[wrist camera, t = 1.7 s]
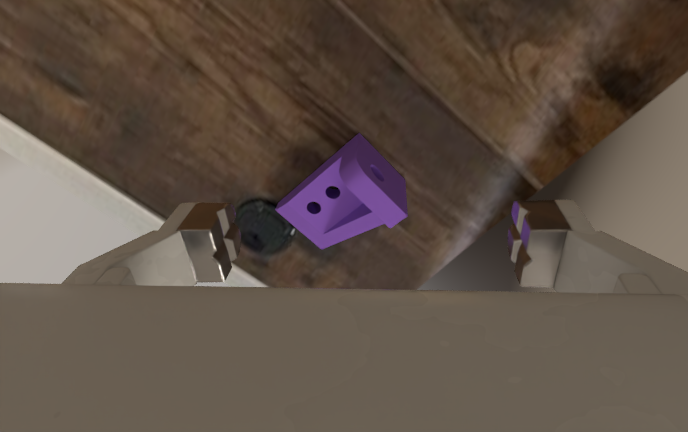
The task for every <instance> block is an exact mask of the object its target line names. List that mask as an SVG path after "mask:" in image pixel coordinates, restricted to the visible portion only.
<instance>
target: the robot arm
mask: <svg viewBox="0 0 688 432" xmlns="http://www.w3.org/2000/svg"><path fill="white" fill-rule="evenodd" d="M511 216H512V218H513V221H514V224H513V225H512V226H511V227H510V228H509V232H508V252H509V256H510V259H511V261H513V262H514V263H516V265H515V273H516V276H517V279H518V281H519V284H520V287H543V288H554V290H555V291H556V292H506V291H501V292H500V291H443V290H386V289H327V288H268V287H209V286H207V287H205V286H194V285H196V284H197V282H225V280H226V278H227V276H228V274H229V272H230V270H231V268H232V266H231V261H233V260H234V259H236V258H237V256H238V254H239V252H240V246H241V235H240V231H239V228H238V227H237V226H236V225H235V224H234V223H233V220H234V219H235V217H236V214H235V210H234V206H233V205H232V204H231V203H198V202H194V203H181V204H180V205H179V206H178V207H177V208H176V210H175V211H174V212H173V213H172V214H171V216H170V217H169V218H168V219H167V220H166V222H165V223H164V224H163V225H162V227H161V228H160V229H159V230H158V231H152V232H149V233H147V234H145V235H143V236H141V237H139V238H137V239H135V240H132V241H130V242H128V243H126V244H124V245H122V246H120V247H118V248H116V249H114V250H111V251H109V252H107V253H105V254H103V255H101V256H99V257H97V258H94V259H93V260H90V261H88V262H86V263H84V264H82V265H80V266H78V267H77V269H75V270H74V271H73V272H72V273H71V274H70V275H69V276H68V277H67V278H66V280H65V281H64V282H63V283H62V284H30V283H0V432H688V272H686V271H684V270H682V269H680V268H678V267H676V266H674V265H672V264H669V263H667V262H665V261H663V260H661V259H659V258H657V257H655V256H653V255H651V254H648V253H646V252H644V251H642V250H640V249H638V248H636V247H634V246H632V245H630V244H628V243H625V242H623V241H621V240H619V239H617V238H615V237H613V236H611V235H609V234H607V233H605V232H602V231H595V230H594V228H593V227H592V225H591V224H590V222H589V221H588V220H587V218H586V217H585V215H584V214H583V212H582V211H581V210H580V208H579V207H578V205H577V204H576V202H575V201H574V200H571V199H569V200H542V201H541V200H538V201H515V202H514V204H513V207H512V212H511Z"/></svg>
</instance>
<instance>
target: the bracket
mask: <svg viewBox="0 0 688 432" xmlns="http://www.w3.org/2000/svg"><path fill="white" fill-rule="evenodd" d="M330 186H335V187H337V188H338V189H337V190H334V189H331V188H329V187H330ZM312 202H317V203H318V204H314V203H312ZM276 211H277V212H278V213H279V214H280V215H282V216H283V217H284V218H285V219H286V220H288V221H289V222H290V223H291V224H292V225H293V226H295V227H296V228H297V229H298V230H299V231H300V232H302V233H303V234H304V235H305V236H306V237H307V238H309V239H310V240H311V241H312V242H313V243H314V244H316V245H317V246H318V247H319V248H320V249H321V250H322V249H324V248H326V247H329V246H331V245H334V244H336V243H339V242H341V241H343V240H346V239H348V238H351V237H353V236H356V235H358V234H360V233H363V232H365V231H368V230H370V229H373V228H375V227H377V226H380V225H382V224H386V225H387V226H388V227H389V228H391V227H393V226H394V225H396V224H397V223H398V222H400V221H401V220H403V219H404V218H406V217H407V216H408V214H407V201H406V187H405V179H404V178H403V177H402V176H401V175H400V174H399V173H398V172H397V171H396V170H395V169H394V168H393V167H392V166H391V165H390V164H389V163H388V162H387V161H386V160H385V159H384V158H383V156H382V155H381V154H380V153H379V152H378V151H377V150H376V149H375V148H374V147H373V146H372V145H371V144H370V143H369V142H368V141H367V140H366V139H365V138H364V137H363V136H362V135H361V134H360V133H358V134H357V135H356V136H355V137H354V138H352V139H351V140H350V141H349V142H348V143H347V144H345V145H344V146H343V147H342V148H341V149H340V150H339V151H337V152H336V153H335V154H334V155H333V156H332V157H330V158H329V159H328V160H327V161H326V162H325V163H324V164H322V165H321V166H320V167H319V168H318V169H317V170H315V171H314V172H313V173H312V174H311V175H310V176H308V177H307V178H306V179H305V180H304V181H303V182H302V183H300V184H299V185H298V186H297V187H296V188H295V189H293V190H292V191H291V192H290V193H289V194H288V195H287V196H285V197H284V198H283V199H282V200H281V201H280V202H278V205H277V207H276Z"/></svg>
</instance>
